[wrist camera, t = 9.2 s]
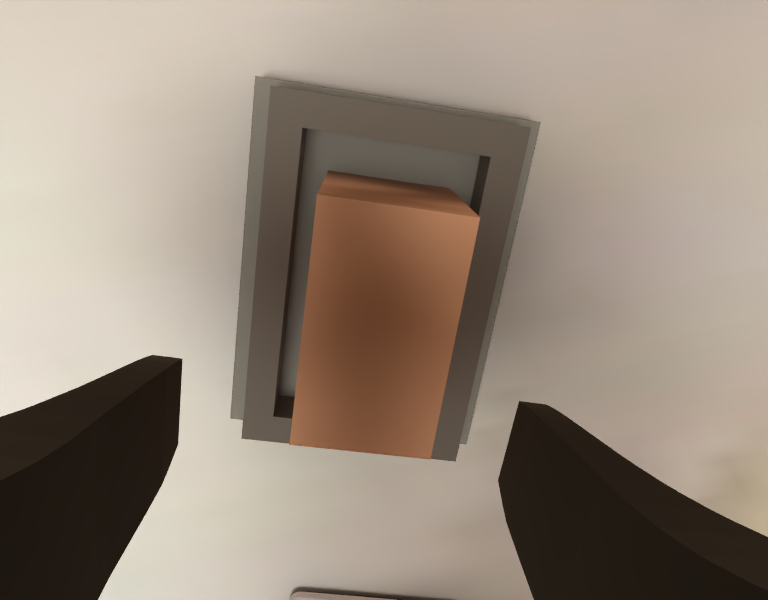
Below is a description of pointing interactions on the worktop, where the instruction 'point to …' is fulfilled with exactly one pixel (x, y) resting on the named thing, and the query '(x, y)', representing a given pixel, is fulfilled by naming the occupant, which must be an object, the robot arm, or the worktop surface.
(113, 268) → the worktop surface
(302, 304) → the nest plate
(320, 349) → the terracotta bar
